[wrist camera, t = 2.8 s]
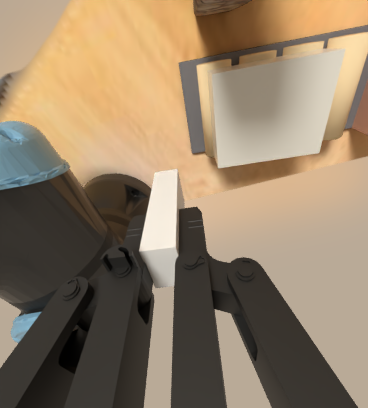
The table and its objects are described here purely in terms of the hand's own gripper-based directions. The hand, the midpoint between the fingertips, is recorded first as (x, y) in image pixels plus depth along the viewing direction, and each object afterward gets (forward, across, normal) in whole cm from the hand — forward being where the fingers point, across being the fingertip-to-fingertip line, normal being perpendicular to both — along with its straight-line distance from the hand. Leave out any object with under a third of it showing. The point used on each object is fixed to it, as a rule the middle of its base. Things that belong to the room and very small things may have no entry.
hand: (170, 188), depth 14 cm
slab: (+15, +10, 0) cm, 18 cm away
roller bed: (+20, +15, 0) cm, 25 cm away
